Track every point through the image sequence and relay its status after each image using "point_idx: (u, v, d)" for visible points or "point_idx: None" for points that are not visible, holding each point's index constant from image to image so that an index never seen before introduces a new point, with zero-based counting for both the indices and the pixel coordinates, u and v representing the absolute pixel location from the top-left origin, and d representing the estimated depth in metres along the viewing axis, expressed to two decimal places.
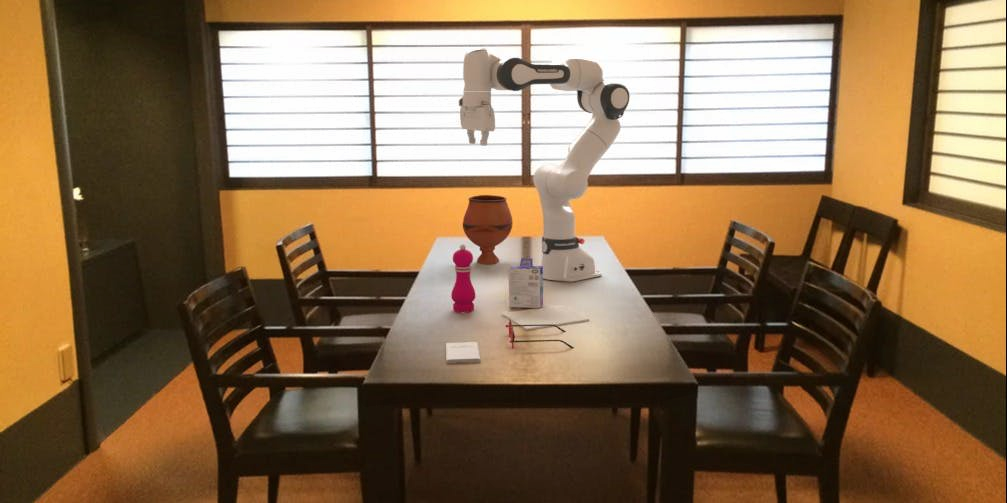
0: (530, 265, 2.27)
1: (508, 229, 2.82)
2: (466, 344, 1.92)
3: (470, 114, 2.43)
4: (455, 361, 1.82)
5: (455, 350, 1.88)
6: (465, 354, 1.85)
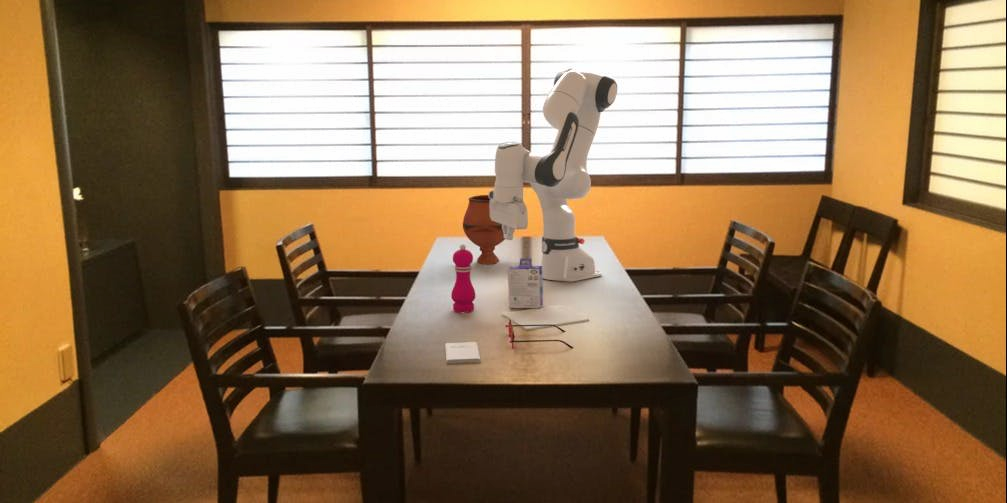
0: (529, 265, 2.27)
1: None
2: (466, 344, 1.92)
3: (501, 208, 2.35)
4: (455, 361, 1.82)
5: (455, 350, 1.88)
6: (465, 354, 1.85)
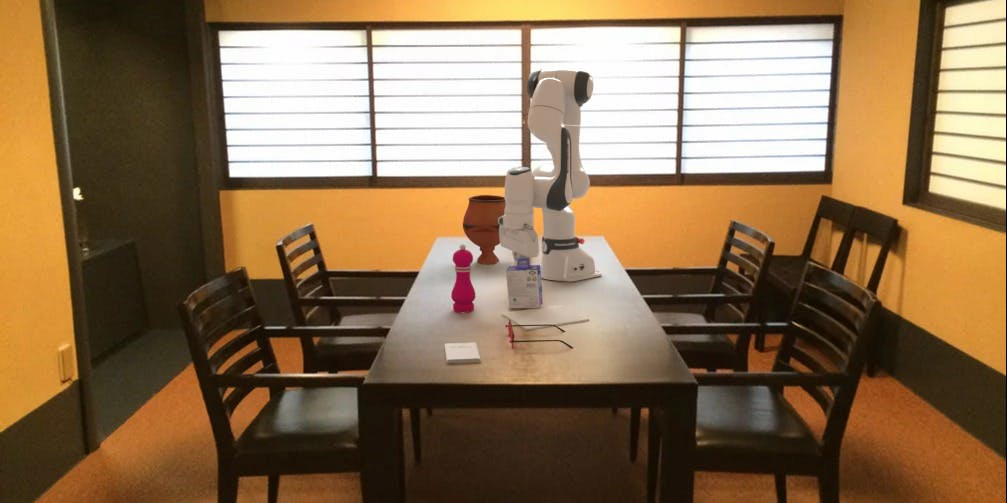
0: (527, 265, 2.25)
1: None
2: (465, 345, 1.92)
3: (511, 234, 2.30)
4: (455, 361, 1.82)
5: (455, 350, 1.88)
6: (465, 354, 1.85)
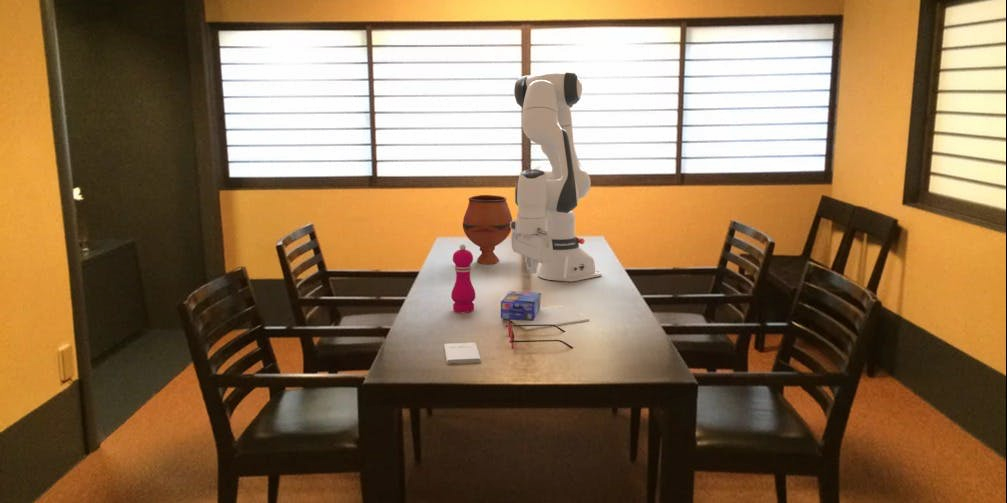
0: (521, 311, 2.13)
1: (508, 229, 2.82)
2: (465, 345, 1.92)
3: (523, 239, 2.22)
4: (456, 361, 1.82)
5: (455, 350, 1.88)
6: (465, 355, 1.85)
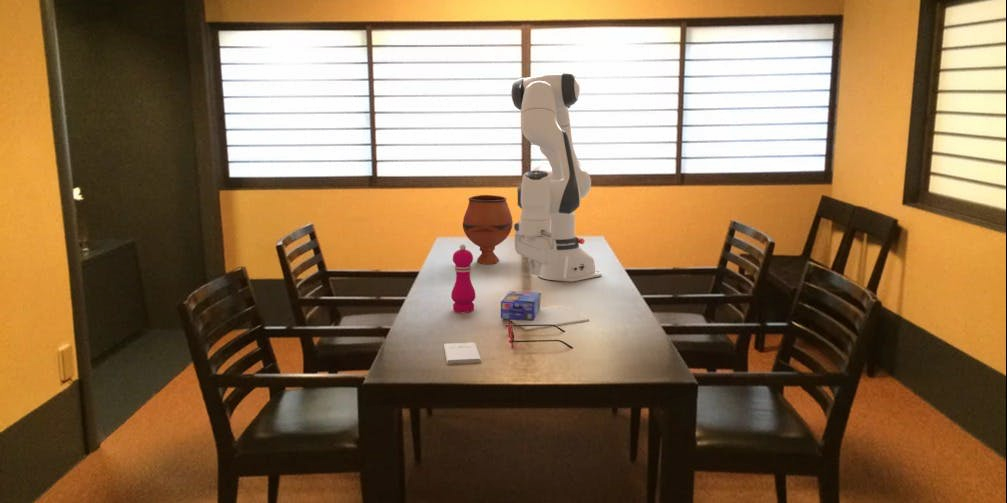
0: (521, 311, 2.13)
1: (508, 229, 2.82)
2: (464, 345, 1.92)
3: (527, 241, 2.20)
4: (456, 361, 1.82)
5: (455, 350, 1.88)
6: (465, 355, 1.85)
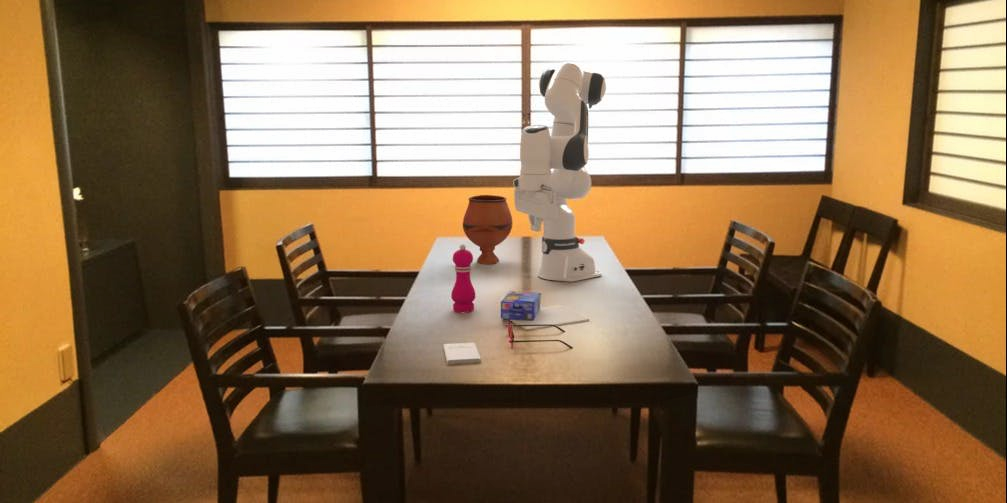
0: (521, 311, 2.13)
1: (508, 229, 2.82)
2: (464, 345, 1.92)
3: (527, 197, 2.18)
4: (456, 361, 1.81)
5: (454, 350, 1.88)
6: (465, 355, 1.84)
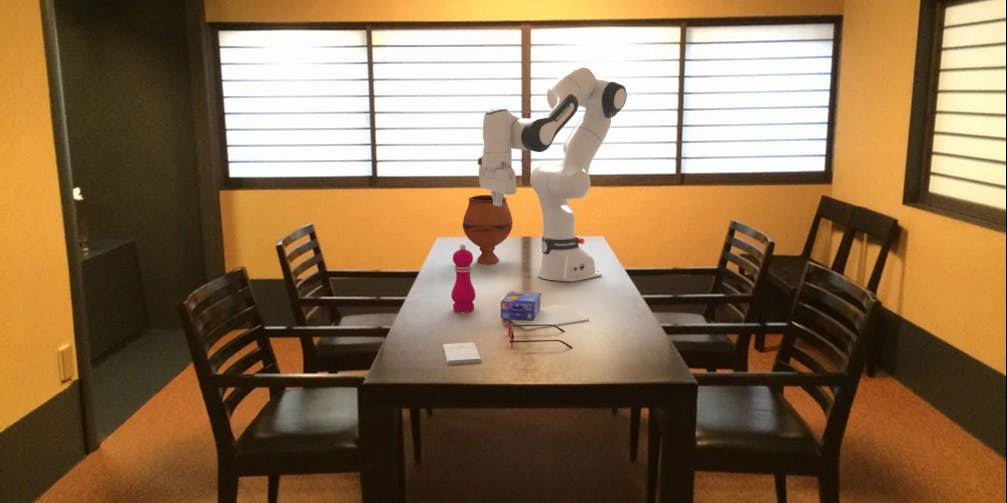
0: (521, 311, 2.13)
1: (508, 229, 2.82)
2: (464, 345, 1.92)
3: (490, 174, 2.35)
4: (456, 362, 1.81)
5: (454, 351, 1.88)
6: (465, 355, 1.84)
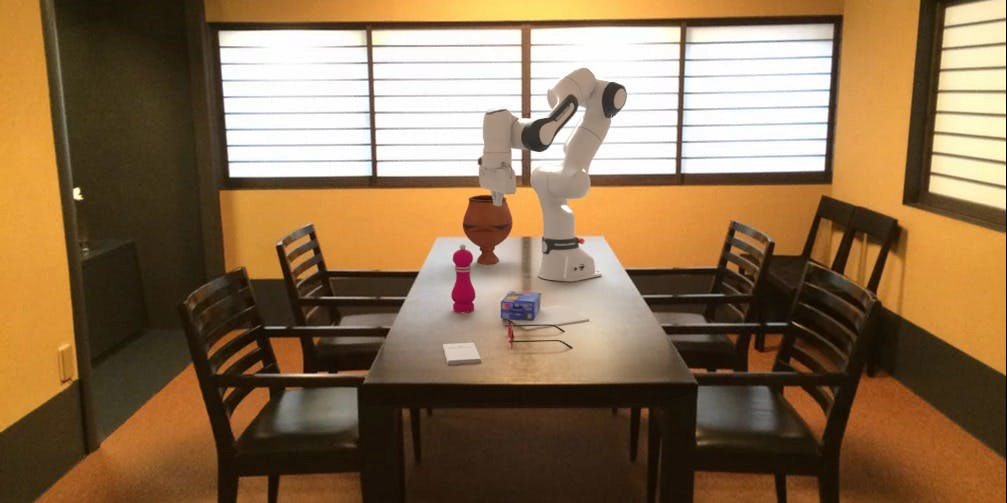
0: (521, 311, 2.13)
1: (508, 229, 2.82)
2: (463, 345, 1.92)
3: (490, 174, 2.35)
4: (456, 362, 1.81)
5: (454, 351, 1.88)
6: (465, 355, 1.84)
